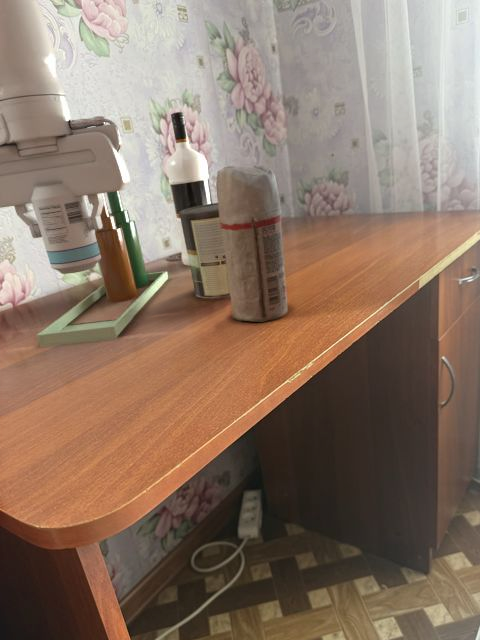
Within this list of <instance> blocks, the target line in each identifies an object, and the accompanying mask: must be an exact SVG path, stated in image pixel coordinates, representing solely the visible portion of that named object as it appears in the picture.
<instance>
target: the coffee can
mask: <svg viewBox="0 0 480 640" xmlns="http://www.w3.org/2000/svg"><path fill="white" fill-rule="evenodd" d="M212 203H213V202H212ZM179 217H180V219H181V223H182V228H183V233H184V238H185V243H186V249H187V254H188V259H189V264H190V265H189V268H190V273H191V274H190V275H191V278H192V284H193V289H194V295H195V296H196V297H198V298H204V299H216V298H225V297H230V293H229V286H228V278H227V267H226V260H225V251H224V250H223V249H224V246H223V239H222V232H221V227H220V217H219V208H218V202H214V203H213V204H207V205H201V206H196V207H192V208H188V209H184V210H182V211H180V212H179Z"/></svg>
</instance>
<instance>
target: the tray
mask: <svg viewBox="0 0 480 640" xmlns="http://www.w3.org/2000/svg"><path fill="white" fill-rule="evenodd" d="M147 276H148V280H149V282H152V281H153V282H152V283H151V284H149V285H148V286H149V287H147V288H146V289H145V290H144V291H143V292H142V293H141V294H140V295H139V296H138V297H137V299H136V300H135V301H134V302H133V303H132V304H130V306H128V308H127V309H126V310H125V311H124V312H123V313H122V314H120V316H119V317H118V318H117V319H107V320H99V321H90V322H82V323H81V322H80V323H72V324H70V323H71V322H73V321H74V320H75V319H76V318H77V317H79V315H81V314H82V313H83V312H85V311H86V310H87V309H88V308H89V307H91V306H92V305H93V304H94V303H96V302H97V301H98V300H99V299H100V298H102V297H103V296H104V295H106V291H105V287H104V284H102V285H101V286H99V287H98V288H96V289H95V290H94V291H93V292H91V293H90V294H89V295H87V296H86V297H85V298H84V299H82V300H81V301H79V302H78V303H77V304H76V305H74V306H73V307H72V308H70V309H69V310H67V311H66V312H65V313H63V314H62V315H61V316H60V317H59V318H57V319H56V320H55V321H54V322H52V323H51V324H49V325H48V326H47V327H46V328H44V329H43V330H42V331H39V332H38V334H36V337H37V340H38V343H39V345H40V347H41V348H44V347H51V346H52V347H53V346H61V345H69V344H71V345H72V344H79V343H88V342H89V343H90V342H96V341H97V342H98V341H106V340H117V339H118V338H119V335H120V334H121V333H122V332H123V331H124V329H126V327H127V326H128V325H129V324H130V323H131V321H133V319H134V318H135V316H136V315H137V314H138V313H139V311H140V310H141V309H142V308H143V307H144V306H145V305H146V304H147V302H148V301H149V300H150V299H151V298H152V297H153V296H154V295H155V293H156V292H157V291H158V290H159V289H160V288H161V287H162V286H163V285H164V283H165V282H167V280H168V279H169V274H168V271H167V270H165V271H156V272H147Z"/></svg>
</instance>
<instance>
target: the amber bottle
mask: <svg viewBox="0 0 480 640" xmlns="http://www.w3.org/2000/svg"><path fill="white" fill-rule="evenodd" d="M103 196H104V201H105V202H104V205H103V209H102V212H101V215H100V217H101V221H102V225H103V226H102V229H99V230H94V232H95V236H96V240H97V244H98V247H99V251H100V255H101V259H100V260H99V261H98V262H97V264H98V268H99V272H100V277H101V280H102V282H103V284H104V287H105V291H106V293H105V295H106V299H107V301H108V303H122V302H126V301H127V302H128V301H130V300H134V299H135V298H138V297H139V293H138V289H136V285H135V281H134V276H133V272H132V268H131V264H130V260H129V256H128V251H127V247H126V243H125V239H124V235H123V231H122V227H117V226H116V222H115V218H114V216H109V213H110V212H109V208H108V205H107V200H106V196H105V193H103ZM91 205H92V206H93V205H94V203H93V204H91ZM103 284H102V285H103Z"/></svg>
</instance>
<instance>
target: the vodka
mask: <svg viewBox="0 0 480 640" xmlns="http://www.w3.org/2000/svg"><path fill="white" fill-rule="evenodd" d="M170 118H171V123H172V128H173V129H172V130H173V135H174V139H175V147H176V150H175V151H174V152H173V153H172V154H171V155H170V157H169V158H168V159H167V161H166V163H165V171H166V175H167V178H168V183H169V187H170V192H171V196H172V197H171V198H172V201H173V206H174V211H175V217H176V224H177V227H178V231H179V240H180V249H181V255H180V256H181V262H182V264H183V265H185V266H190V264H189V259H188V254H187V249H186V243H185V238H184V233H183V228H182V223H181V219H180V217H179V212H180V211H182V210H184V209H188V208H192V207H196V206H201V205H207V204H213V198H212V192H211V186H210V180H209V177H210V174H209V171H208V170H209V169H208V162H207V159H206V157H205V156H204V154H202V153H200V152H198V151H197V150H195V149H193V148H192V147H191V146H190V141H189V136H188V129H187V125H186V119H185V113H184V112H182V111H175V112H173V113H170Z"/></svg>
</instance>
